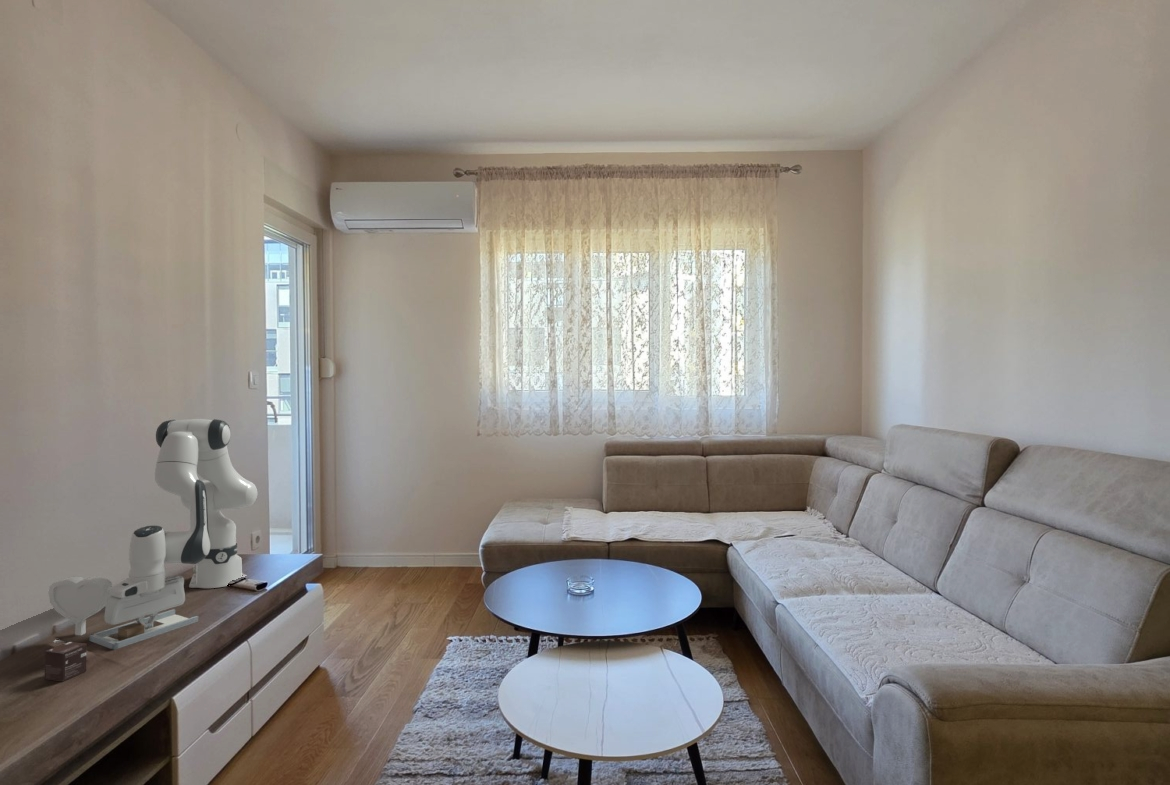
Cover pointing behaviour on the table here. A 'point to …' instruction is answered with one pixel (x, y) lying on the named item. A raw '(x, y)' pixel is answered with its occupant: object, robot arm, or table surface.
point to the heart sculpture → (79, 599)
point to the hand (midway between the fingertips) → (146, 629)
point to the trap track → (169, 624)
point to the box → (65, 661)
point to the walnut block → (130, 631)
